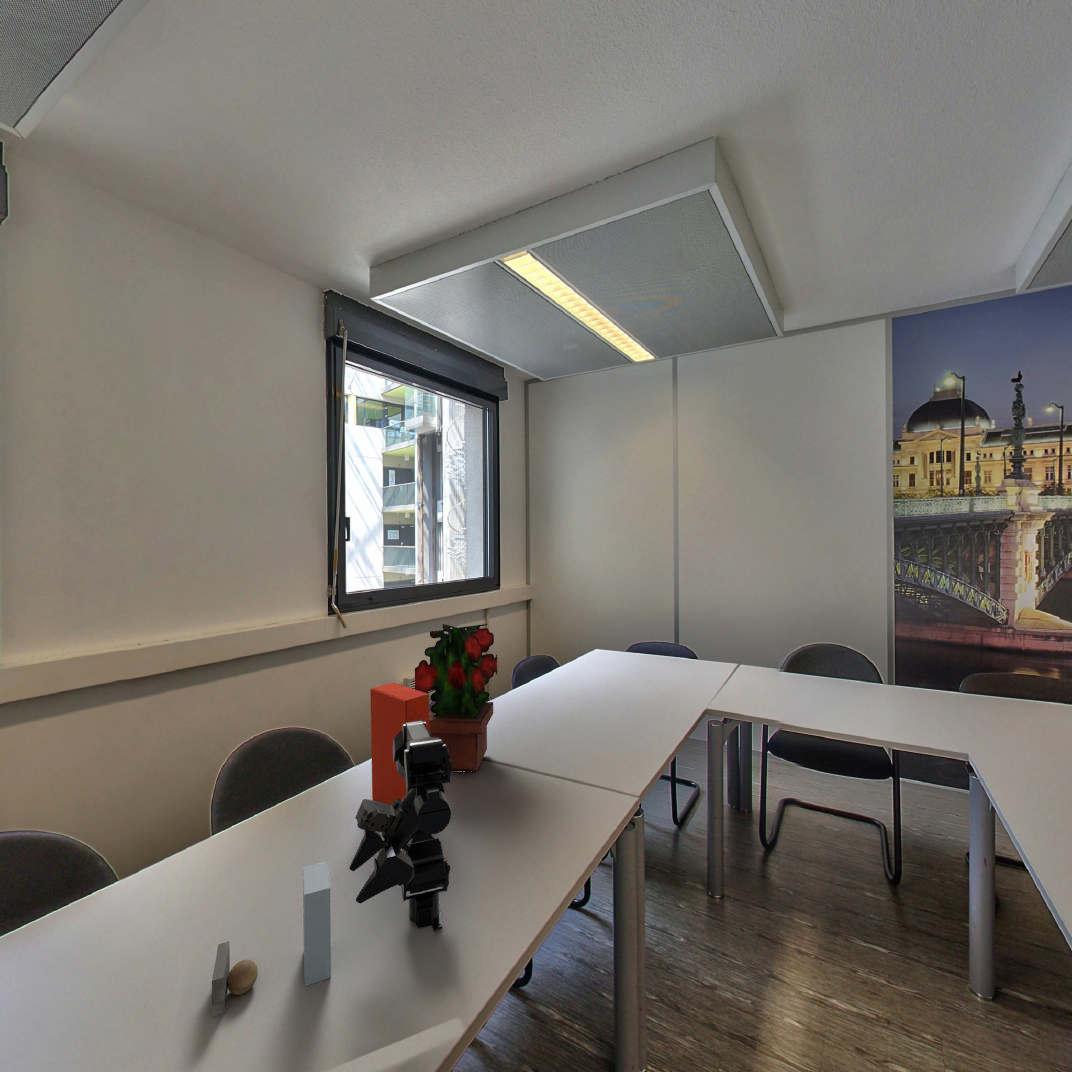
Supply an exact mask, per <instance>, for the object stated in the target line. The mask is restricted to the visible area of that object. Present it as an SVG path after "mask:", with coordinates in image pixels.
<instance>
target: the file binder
mask: <svg viewBox="0 0 1072 1072" xmlns="http://www.w3.org/2000/svg"><path fill="white" fill-rule="evenodd" d="M369 693H370V694H369V695H370V735H371V736H370V739H371V740H370V743H371V744H370V745H371V749H370V750H371V796H372V797H371V798H372V799H371V800H373V801H377V802H382V803H385V804H388V805H391V804H392V803H393V802H394V800H397V799H400V800H401V801H402V799H403V798H404V797H405V796H406V795H407V793H406V782H405V780H404V778H403V777H402V776H401V775H400V774H399V773H398V772H397V763H396V762H394V761H393V741H394V737H395V736H396V735H397V734H398V733H399V732H400V731H401V730H402V727H403V724H405V723H408V722H416V721H423V722H426V728H427V730H428V731H429V710H430V695H429V693H428V694H427V693H424V692H421V691H418V690H415V688H411V687H408V686H406V685H402V684H401V683H396V682H390V683H387V684H383V685H379V686H375V687H372V688H370V692H369ZM429 732H430V731H429Z"/></svg>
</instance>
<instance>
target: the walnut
mask: <svg viewBox="0 0 1072 1072" xmlns="http://www.w3.org/2000/svg"><path fill="white" fill-rule="evenodd" d="M258 975H259V970H258V966H257V964H256V962H255V961H254V960H252V959H243V960H240V961H238V962H237V963H236V964H234V965H233V966H232V968H231V969H230V973H229V975H228V978H227V987H228V991H229V992H230V993H231V994H233V995H235V996H236V995H238V996H239V995H243V994H245V993H247V992H249V990H251V989H252V987H253V986H254V985H255V983H256V981H257V979H258Z"/></svg>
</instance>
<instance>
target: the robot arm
mask: <svg viewBox="0 0 1072 1072" xmlns="http://www.w3.org/2000/svg"><path fill="white" fill-rule="evenodd" d="M393 761H394V762H396V763H397V772H398V773H399V774H400V775H401V776H402V777H403V778H404V780H405V782H406V793H407V795H406V796H405V797H404V798H403V799H402V801H401V800H400V799H397V800H394V802H393V803H392V804H391V805H388V804H385V803H382V802H377V801H374V800H373V799H366V798H365V799H362V801H361V803H360V804H359V808H358V810H357V812H356V815H355V817H354V818H355V820H356V823H357V824H356V826H357V828H358V829H360V830H362V831H363V837H362V839H361V842H360V843H359V846H358V848H357V850H356V852H355V854H354V856H353V859H352V861H351V863H350V865H349V867H348V868H349V870H350V871H352V872H355V871H356V870H358V869H359V868H361V867H362V866H363V865H364V864H365V863H367V862H368V861H369V860H370V859H371V858H373V857H374V856H375V855H376V854H377V853H378V855H377V857H374V859H373V871H372V873H371V875H369V877H368V879H367V880H366V881H365V883H364V885H363V887H361V890H360V891H359V893H358V895H357V896H356V898H355V901H356V902H357V903H358V904H362V903H364V902H366V901H368V900H370V899H372V898H373V897H375V896H377V895H379V894H381V893H382V892H385V891H386V890H389V889H391V888H393V887H395V886H399V887H400V889H401V895H402V901H403V902H405V901H408V918H409V920H410V921H411V922H412V923H414V924H415V927H417V929H422V928H427V927H431V929H432V931H435V930H440V929H442V928H443V921H442V920H443V919H442V913H441V910H442V909H441V905H440V899H439V898H440V893H441V892H442V893H443V892H447V891H448V887H449V884H450V872H451V865H450V864H449V862H448V859H447V857H444V852H443V846H442V841H441V840H440V839H439V838H438V837H437V838H435V837H434V835H436V834H439V833H441V832H443V831H444V830H445V829H446V828H447V827H448V825H449V824H450V821H451V819H452V810H451V806H450V804H449V801H448V799H447V798H446V794H445V787H444V785H443V784H449V783H451V776H452V775H453V772H452V766H451V760H450V754H449V750H448V749H447V746H446V744H443V742H442V740H441V739H440V738H438V737H431V733H430V732H429V731H428V730H427V728H426V722H423V721H416V722H408V723H405V724H403V727H402V730H401V731H400V732H399V733H398V734H397V735H396V736H395V737H394V741H393ZM442 764H443V765H442ZM443 767H444V768H443ZM443 769H444V772H442V770H443ZM402 850H403V851H402Z"/></svg>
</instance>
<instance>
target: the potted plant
mask: <svg viewBox="0 0 1072 1072" xmlns="http://www.w3.org/2000/svg"><path fill="white" fill-rule="evenodd" d="M487 625H488V623H485V624H484V623H482V624H477V625H469V626H462V627H457V626H453V625H448V624H446V623H445V624H444V623H442V629H439V630H438V629H437V630H431V631H429V637H430V638H431V639H438V638H439V639H438V640H437V641H436V642H435V645H434V646H428V647H426V649H424V653H423V654H424V655H425V657H429V663H428V661H427V660H426V659H421V661H419V663H418V666H416V667H414V689H415V690H418V691H421V692H424V693H427V694H429V692H431V691H434V692H433V693H431V694H430V696H429V700H431V702H435V703H433V704H432V705H431V706H430V708H429V731H430V733H431V737H438V738H440V739H441V740H442V742H443V744H446V746H447V749H448V750H449V754H450V760H451V766H452V771H462V772H461V773H469V772H471V771H472V772H473V773H474V771H475V770H478V769H479V767H480V766H481V763H482V760H483V758H484V756H485V754H486V753H487V750H488V724H489V722H490V720H491V718H492V717H493V715H494V701H488V699H489V698H490V695H491V694H490V693H489V691H486V685H487V684H488V683H489V682H490V680H491V678H493V677H494V674H495V675H498V654H496V655H495V656H494V654H493V653H487V652H488V651H489V650H490V647H491V646H493V645H494V642H495V636H494V633H493V632H490V629H489V628H488V627H485V626H487ZM481 627H482V628H481ZM445 632H446V633H445ZM483 653H486V654H483ZM442 765H443V764H442ZM443 768H444V767H443ZM473 770H474V771H473ZM442 771H444V769H443V770H442ZM442 771H441V772H442ZM463 771H465V772H463Z"/></svg>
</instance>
